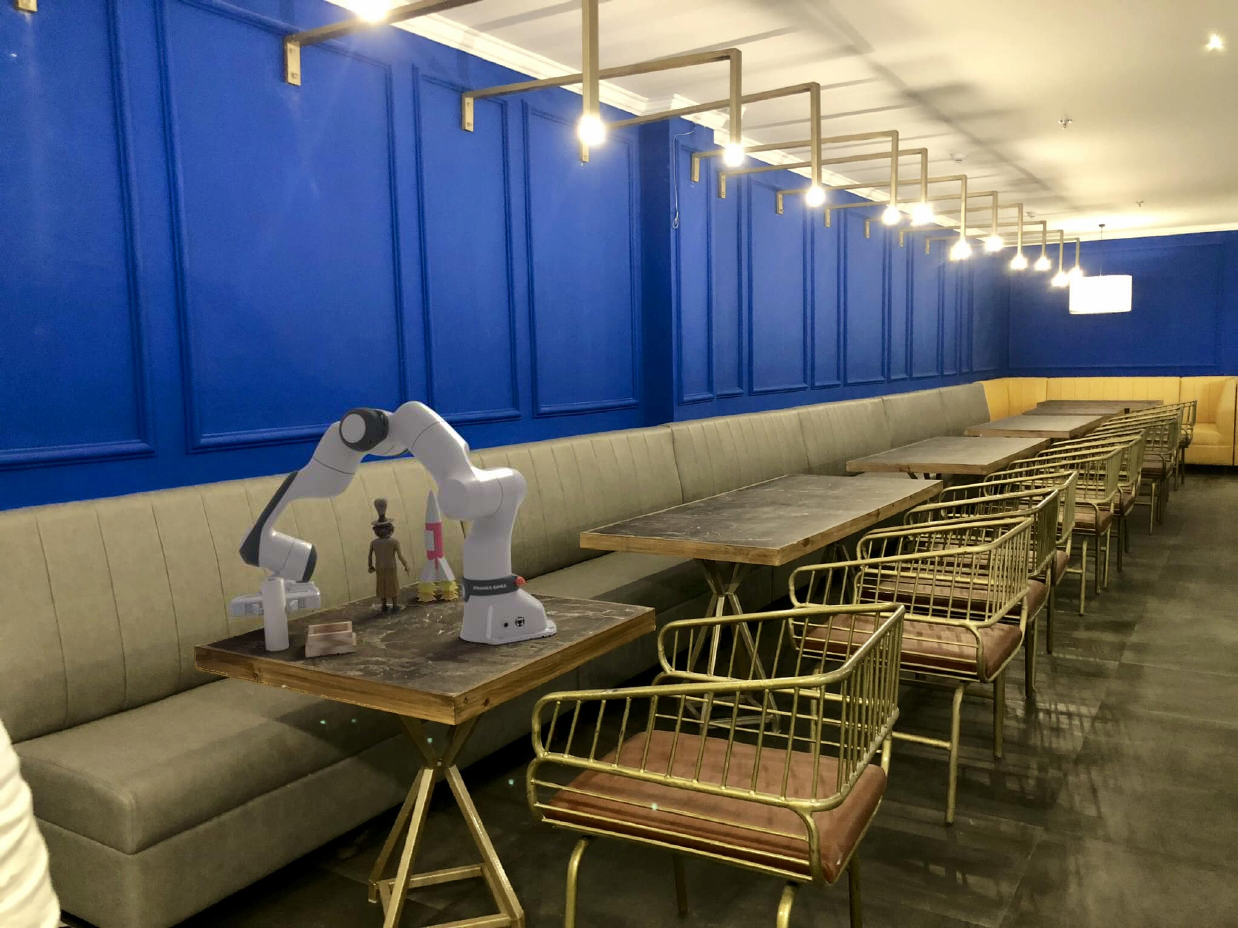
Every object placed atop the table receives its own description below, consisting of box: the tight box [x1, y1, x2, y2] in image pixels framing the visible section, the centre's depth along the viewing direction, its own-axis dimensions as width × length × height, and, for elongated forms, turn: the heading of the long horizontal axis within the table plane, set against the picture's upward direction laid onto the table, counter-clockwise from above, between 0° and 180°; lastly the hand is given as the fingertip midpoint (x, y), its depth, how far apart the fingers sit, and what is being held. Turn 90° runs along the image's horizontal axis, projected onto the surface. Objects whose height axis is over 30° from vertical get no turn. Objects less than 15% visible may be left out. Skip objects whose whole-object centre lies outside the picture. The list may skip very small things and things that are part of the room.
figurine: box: [367, 497, 411, 614], centre depth 258 cm, size 11×9×30 cm
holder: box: [304, 620, 358, 658], centre depth 226 cm, size 11×11×4 cm
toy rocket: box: [416, 488, 459, 603], centre depth 271 cm, size 12×12×30 cm
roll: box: [260, 577, 290, 652], centre depth 227 cm, size 5×5×16 cm
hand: (274, 610), depth 226 cm, fingers closed on roll, 5 cm apart
